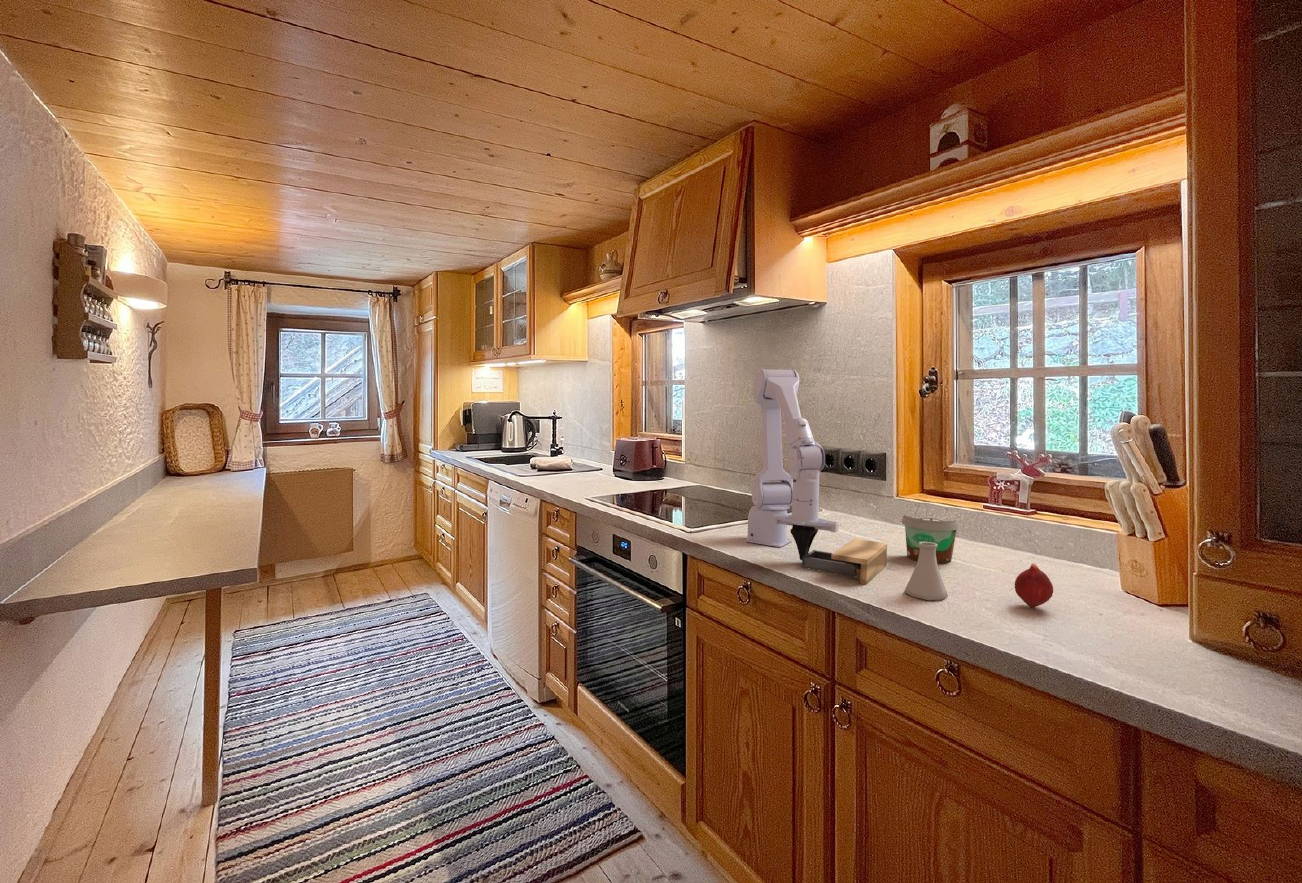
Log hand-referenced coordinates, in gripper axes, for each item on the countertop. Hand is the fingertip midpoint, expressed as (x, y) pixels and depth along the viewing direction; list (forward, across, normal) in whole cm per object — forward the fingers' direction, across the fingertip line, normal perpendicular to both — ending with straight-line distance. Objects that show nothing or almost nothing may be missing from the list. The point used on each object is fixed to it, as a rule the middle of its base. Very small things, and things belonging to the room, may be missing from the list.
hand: (803, 559), depth 134 cm
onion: (+1, +44, -2) cm, 44 cm away
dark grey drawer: (+1, +7, 0) cm, 7 cm away
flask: (+1, +27, -6) cm, 27 cm away
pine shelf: (+1, +12, +1) cm, 12 cm away
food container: (+1, +23, +18) cm, 29 cm away
